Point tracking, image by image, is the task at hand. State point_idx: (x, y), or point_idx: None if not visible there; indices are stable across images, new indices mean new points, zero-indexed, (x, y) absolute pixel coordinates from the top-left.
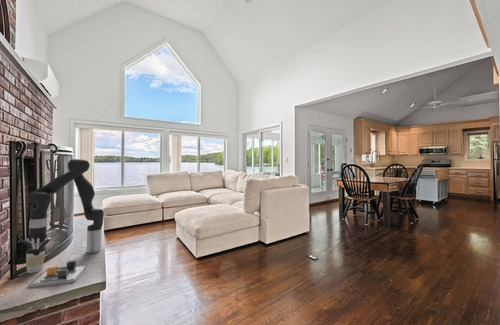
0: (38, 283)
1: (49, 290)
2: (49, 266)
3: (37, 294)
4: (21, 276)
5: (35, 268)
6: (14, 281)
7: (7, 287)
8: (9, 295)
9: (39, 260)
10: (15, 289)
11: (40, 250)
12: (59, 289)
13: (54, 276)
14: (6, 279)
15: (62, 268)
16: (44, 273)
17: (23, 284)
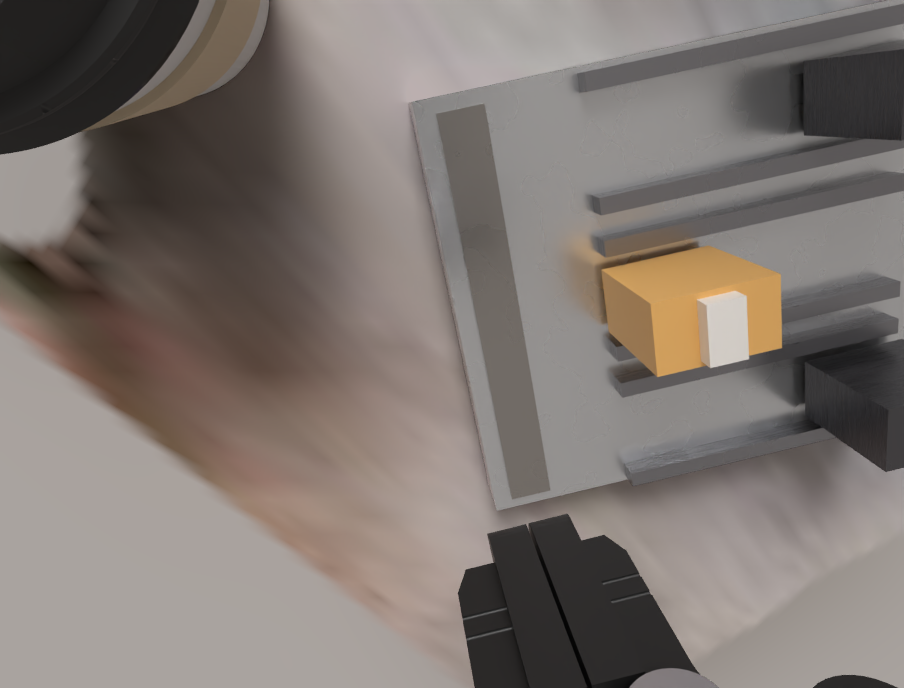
0: (607, 477)
1: (766, 528)
2: (659, 309)
3: (691, 591)
4: (144, 213)
5: (229, 72)
6: (190, 355)
7: (250, 488)
8: (428, 615)
9: (242, 18)
10: (388, 522)
11: (660, 614)
12: (856, 509)
13: (742, 368)
14: (6, 301)
15: (702, 67)
16: (515, 242)
17: (384, 424)
